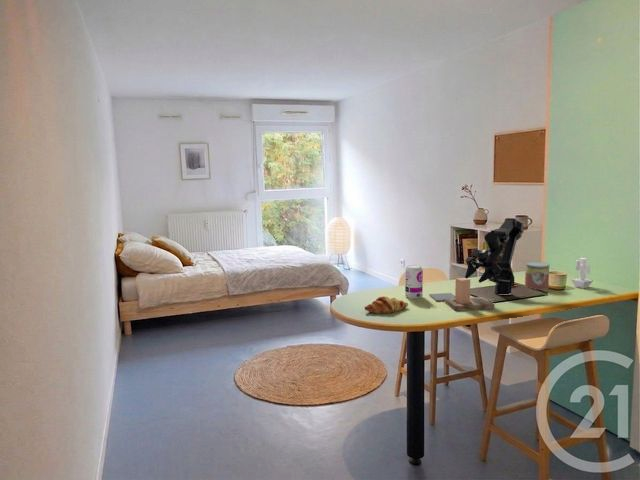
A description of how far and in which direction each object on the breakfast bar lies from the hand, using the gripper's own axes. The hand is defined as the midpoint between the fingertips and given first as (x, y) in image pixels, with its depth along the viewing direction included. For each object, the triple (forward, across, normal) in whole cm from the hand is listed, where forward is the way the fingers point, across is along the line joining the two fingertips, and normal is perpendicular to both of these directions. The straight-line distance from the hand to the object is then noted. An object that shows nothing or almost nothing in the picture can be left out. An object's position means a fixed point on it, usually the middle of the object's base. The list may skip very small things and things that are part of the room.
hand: (472, 280), depth 222 cm
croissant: (+36, -9, -19) cm, 42 cm away
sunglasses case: (-22, -25, +38) cm, 51 cm away
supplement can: (+19, -23, -3) cm, 30 cm away
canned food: (-28, -11, +44) cm, 53 cm away
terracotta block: (+12, 0, +5) cm, 13 cm away
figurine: (-42, -1, +58) cm, 71 cm away
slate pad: (+11, -15, +5) cm, 19 cm away
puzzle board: (+10, +1, +6) cm, 12 cm away
